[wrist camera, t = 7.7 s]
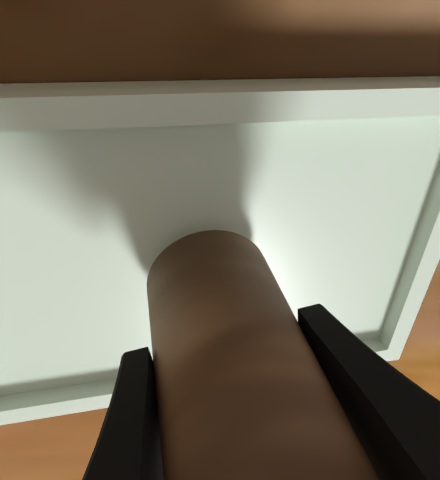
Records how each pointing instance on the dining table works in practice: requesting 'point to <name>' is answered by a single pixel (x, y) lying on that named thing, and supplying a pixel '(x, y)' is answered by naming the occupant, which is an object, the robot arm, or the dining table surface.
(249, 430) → the dowel pin
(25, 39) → the dining table surface
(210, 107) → the sage tray
